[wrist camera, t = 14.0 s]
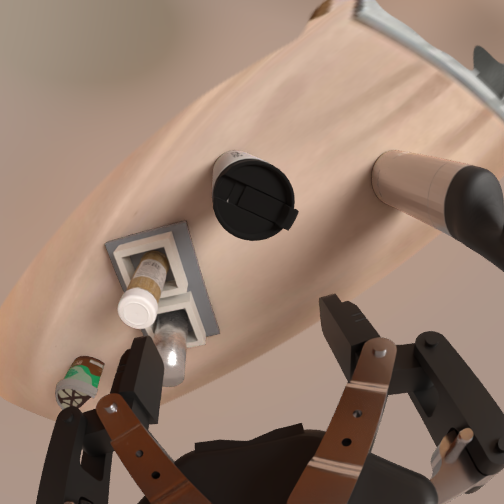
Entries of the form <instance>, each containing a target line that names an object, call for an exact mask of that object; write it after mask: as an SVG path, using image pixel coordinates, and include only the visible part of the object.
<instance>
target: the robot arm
mask: <svg viewBox="0 0 504 504" xmlns="http://www.w3.org/2000/svg"><path fill="white" fill-rule="evenodd" d="M372 186H373V189H374V192H375V194H376V196H377V197H378V198H379V199H380V200H381V201H382V202H384V203H385V204H388V205H390V206H392V207H394V208H396V209H398V210H400V211H402V212H404V213H406V214H408V215H410V216H412V217H414V218H416V219H418V220H420V221H422V222H424V223H426V224H428V225H430V226H432V227H434V228H436V229H438V230H440V231H442V232H444V233H446V234H447V235H449V236H451V237H453V238H455V239H456V240H458V241H460V242H462V243H463V244H464V245H466V246H467V247H469V248H470V249H472V250H473V251H475V252H477V253H478V254H480V255H481V256H483V257H484V258H486V259H487V260H489V261H490V262H491V263H493V264H494V265H496V266H497V267H498V268H499V269H501V270H502V271H503V272H504V200H503V193H502V189H501V186H500V184H499V181H498V180H497V178H496V177H495V175H494V174H493V173H491V172H490V171H489V170H487V169H484V168H481V167H477V166H473V165H469V164H465V163H460V162H455V161H451V160H446V159H442V158H437V157H432V156H426V155H421V154H415V153H410V152H404V151H397V150H391V151H388V152H385V153H384V154H382V155H381V156H380V157H379V158H378V160H377V161H376V163H375V165H374V168H373V171H372ZM319 306H320V318H321V326H322V331H323V334H324V337H325V338H326V340H327V342H328V344H329V346H330V348H331V349H332V352H333V353H334V355H335V358H336V359H337V361H338V363H339V365H340V367H341V369H342V371H343V373H344V375H345V377H346V379H347V380H348V383H347V384H346V386H345V389H344V391H343V394H342V396H341V398H340V401H339V403H338V405H337V408H336V410H335V413H334V415H333V417H332V419H331V422H330V424H329V426H328V428H327V430H326V432H325V431H321V430H304V429H303V425H302V423H299V424H296V425H292V426H288V427H284V428H279V429H275V430H273V431H271V432H269V433H266V434H264V435H262V436H259V437H257V438H255V439H253V440H249V441H234V440H214V441H207V442H199V443H195V450H194V451H191V452H189V453H187V454H185V455H183V456H182V457H180V458H179V459H177V460H176V461H174V460H173V459H172V458H171V457H170V456H169V455H168V454H167V452H166V451H165V450H164V449H163V448H162V447H161V445H160V444H159V443H158V442H157V440H156V439H155V438H154V437H153V436H152V434H151V433H150V432H149V431H148V428H149V424H158V416H159V408H160V400H161V392H162V385H163V377H164V363H163V360H162V358H161V356H160V354H159V352H158V350H157V348H156V346H155V344H154V342H153V340H152V338H151V337H150V336H143V337H137V338H134V340H133V343H132V346H131V349H127V350H126V351H125V353H124V354H123V355H122V357H121V359H120V362H119V366H118V368H117V373H116V375H115V378H114V381H113V385H112V388H111V391H110V394H108V395H106V396H104V397H102V398H101V399H100V400H99V402H98V403H97V406H96V409H93V410H90V411H87V412H84V413H82V412H81V411H80V410H79V409H78V408H77V407H74V406H70V407H67V408H65V409H63V410H62V411H61V412H60V413H59V415H58V417H57V420H56V423H55V426H54V430H53V433H52V436H51V440H50V444H49V447H48V451H47V455H46V459H45V463H44V467H43V471H42V476H41V480H40V485H39V490H38V495H37V501H36V504H108V495H109V483H110V482H109V481H110V472H111V462H112V454H113V451H115V452H116V453H117V455H118V457H119V458H120V460H121V462H122V463H123V465H124V466H125V468H126V469H127V471H128V472H129V474H130V475H131V477H132V478H133V479H134V481H135V482H136V484H137V485H138V487H139V488H140V489H141V491H142V492H143V493H144V495H145V496H144V497H143V498H142V499H141V500H140V502H139V503H138V504H446V503H448V502H450V501H451V500H453V499H455V498H456V497H458V496H460V495H462V494H463V493H465V494H470V493H473V492H476V491H477V490H478V489H480V488H481V487H482V486H484V485H485V484H486V483H487V482H488V481H489V480H491V479H492V478H493V477H494V476H495V475H496V474H498V473H499V472H500V471H501V470H502V469H503V468H504V414H503V412H502V411H501V409H500V408H499V406H498V405H497V404H496V402H495V401H494V399H493V398H492V397H491V395H490V394H489V393H488V391H487V390H486V388H485V387H484V386H483V384H482V383H481V382H480V381H479V379H478V378H477V377H476V375H475V374H474V373H473V371H472V370H471V369H470V368H469V366H468V365H467V364H466V363H465V361H464V360H463V359H462V358H461V356H460V355H459V354H458V353H457V351H456V350H455V349H454V348H453V347H452V346H451V344H450V343H449V342H448V341H447V339H446V338H445V337H444V336H443V335H442V334H440V333H437V332H433V331H428V332H424V333H422V334H420V335H419V336H418V337H417V338H416V341H415V343H412V344H405V345H395V343H394V342H393V341H391V340H389V339H387V338H383V337H380V335H379V334H378V333H377V331H376V330H375V329H374V328H373V326H372V325H371V323H370V322H369V321H368V320H367V319H366V317H365V316H364V314H363V313H362V312H361V311H360V309H359V308H358V307H357V305H355V304H353V303H351V302H349V301H346V302H341V301H340V299H339V298H338V296H337V295H336V294H331V295H328V296H324V297H321V298H319ZM400 393H408V394H409V396H410V398H411V400H412V402H413V403H414V405H415V407H416V409H417V411H418V412H419V414H420V416H421V418H422V420H423V421H424V424H425V425H426V427H427V429H428V431H429V433H430V435H431V437H432V439H433V440H434V443H435V445H436V446H437V448H436V450H435V451H434V453H433V455H432V458H431V466H432V471H433V473H432V477H431V479H430V480H429V479H428V478H426V477H425V476H423V475H421V474H419V473H417V472H414V471H412V470H409V469H407V468H404V467H402V466H400V465H397V464H395V463H393V462H390V461H388V460H386V459H384V458H381V457H379V456H377V455H375V454H372V453H371V450H372V448H373V445H374V442H375V439H376V435H377V432H378V429H379V425H380V422H381V419H382V415H383V412H384V408H385V404H386V401H387V397H388V395H392V394H400ZM82 449H83V455H82V461H81V465H80V455H81V450H82Z"/></svg>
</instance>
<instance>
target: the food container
mask: <svg viewBox="0 0 504 504" xmlns="http://www.w3.org/2000/svg"><path fill="white" fill-rule="evenodd" d="M103 367H104V363H103V362H101V361H100V360H97V359H95V358H93V357H88V356H80V357H78V358H76V359H75V361H74V362H73V364H72V366H71V367H70V369H69V371H68V372H67V374H66V376H65V378H64V379H63V380H61V381H59V382H58V383H57V386H56V392H55V395H56V401H57V403H58V405H59V406H60V407H61V409H62V410H63V409H65V408H67V407H70V406H74V407H77V408H79V407H81V406H82V405H83V404H84V403H85V402H86V401H87V400H88V399H90V398H91V397H92V398H94V397H95V395H96V393H97V391H98V389H97V387H98V384H99V380H100V377H101V374H102V370H103Z"/></svg>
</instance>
